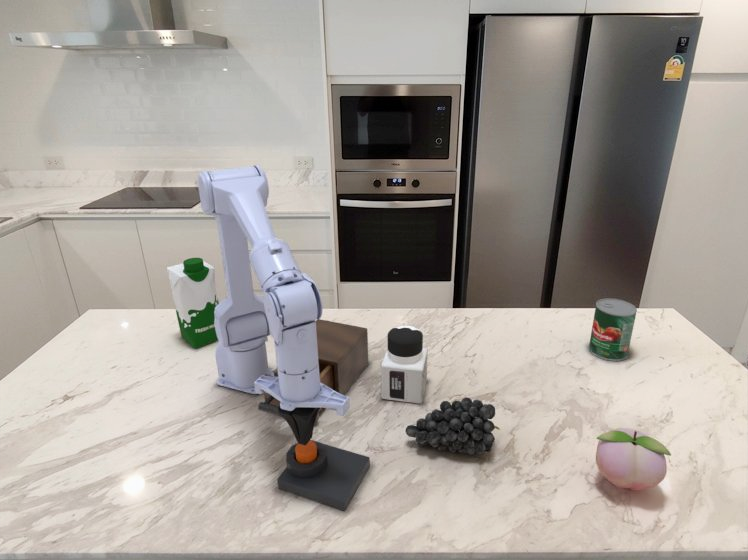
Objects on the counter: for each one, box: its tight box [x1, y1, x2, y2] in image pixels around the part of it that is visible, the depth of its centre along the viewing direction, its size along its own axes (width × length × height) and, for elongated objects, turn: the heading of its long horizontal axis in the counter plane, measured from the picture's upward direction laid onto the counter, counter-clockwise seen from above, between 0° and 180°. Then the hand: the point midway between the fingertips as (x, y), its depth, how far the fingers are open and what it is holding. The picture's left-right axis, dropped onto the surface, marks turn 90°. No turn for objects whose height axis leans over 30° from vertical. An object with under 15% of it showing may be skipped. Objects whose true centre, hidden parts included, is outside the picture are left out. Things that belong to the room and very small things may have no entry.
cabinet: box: [315, 318, 369, 396], centre depth 96 cm, size 14×12×9 cm
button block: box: [276, 439, 371, 512], centre depth 73 cm, size 12×9×4 cm
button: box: [295, 439, 317, 464], centre depth 73 cm, size 3×3×2 cm
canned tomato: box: [588, 297, 638, 362], centre depth 103 cm, size 8×8×11 cm
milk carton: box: [166, 257, 220, 350], centre depth 109 cm, size 9×9×20 cm
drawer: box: [257, 362, 335, 424], centre depth 87 cm, size 17×10×7 cm, turn 158°
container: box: [380, 325, 428, 404], centre depth 91 cm, size 8×8×13 cm
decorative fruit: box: [595, 427, 672, 491], centre depth 70 cm, size 9×8×10 cm
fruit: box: [405, 397, 501, 456], centre depth 78 cm, size 9×8×15 cm
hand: (305, 440), depth 72 cm, fingers closed
